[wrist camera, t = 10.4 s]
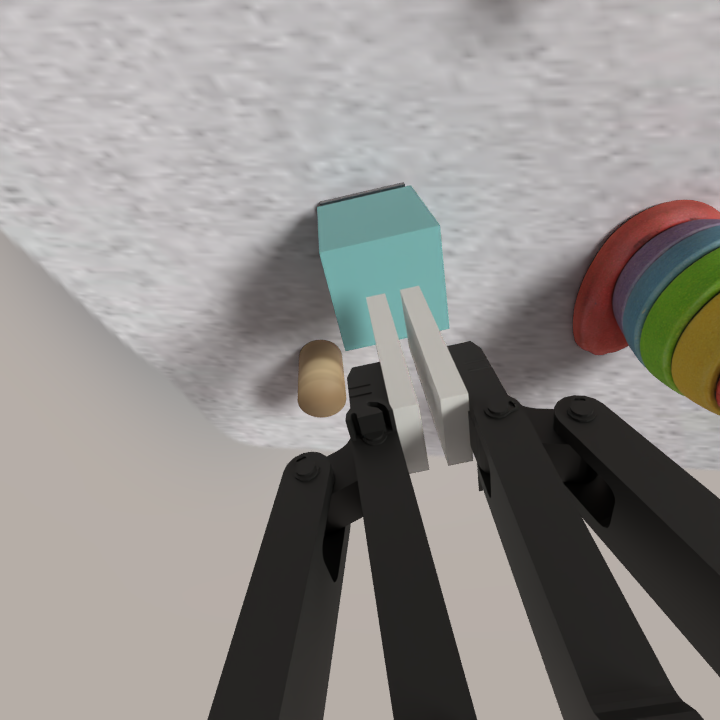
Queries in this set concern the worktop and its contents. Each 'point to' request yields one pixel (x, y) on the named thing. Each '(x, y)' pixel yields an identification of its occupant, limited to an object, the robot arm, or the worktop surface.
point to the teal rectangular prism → (380, 259)
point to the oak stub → (321, 379)
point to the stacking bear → (659, 297)
